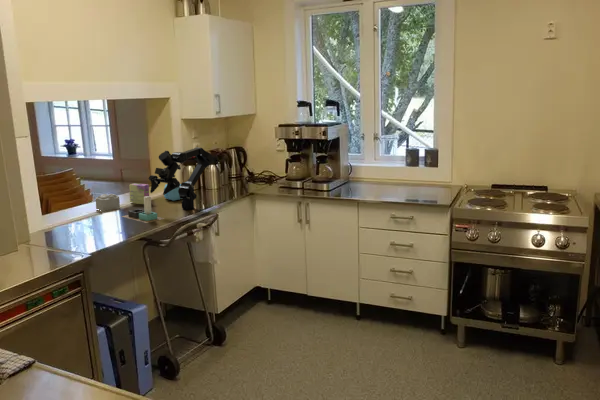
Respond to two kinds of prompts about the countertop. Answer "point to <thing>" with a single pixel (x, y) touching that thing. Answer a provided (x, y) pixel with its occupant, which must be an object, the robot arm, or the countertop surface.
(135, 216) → the panel board
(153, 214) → the port
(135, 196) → the box
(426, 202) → the countertop surface
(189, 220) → the countertop surface
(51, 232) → the countertop surface
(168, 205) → the countertop surface
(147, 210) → the plug
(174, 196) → the teapot
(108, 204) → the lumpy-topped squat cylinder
